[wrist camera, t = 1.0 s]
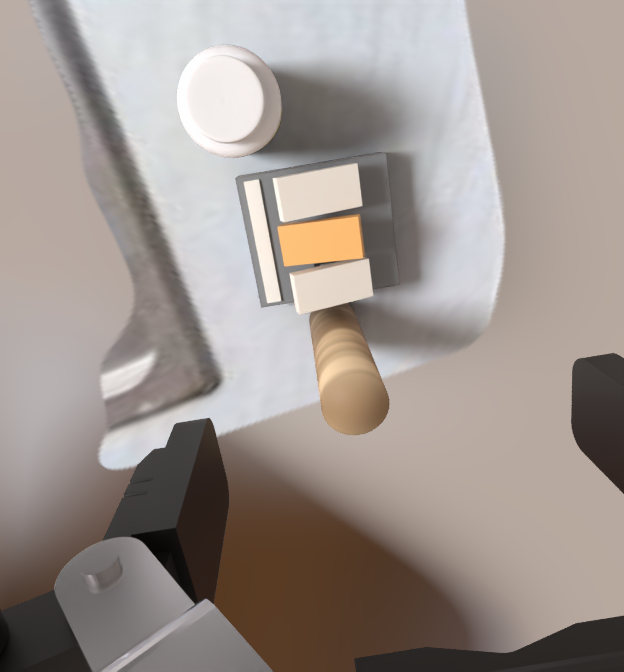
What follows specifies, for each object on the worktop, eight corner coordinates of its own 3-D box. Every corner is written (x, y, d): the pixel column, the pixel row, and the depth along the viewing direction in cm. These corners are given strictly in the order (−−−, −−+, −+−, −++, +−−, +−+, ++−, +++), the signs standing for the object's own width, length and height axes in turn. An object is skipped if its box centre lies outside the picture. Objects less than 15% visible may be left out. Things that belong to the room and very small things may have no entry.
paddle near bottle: (270, 177, 32) (276, 178, 31) (348, 163, 33) (357, 163, 32) (278, 220, 33) (284, 222, 32) (353, 204, 34) (362, 205, 33)
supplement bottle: (195, 63, 34) (161, 33, 24) (280, 64, 34) (280, 34, 25) (201, 154, 36) (172, 159, 26) (282, 154, 36) (282, 159, 27)
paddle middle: (283, 222, 34) (277, 226, 33) (360, 212, 33) (357, 216, 32) (289, 260, 35) (284, 266, 34) (365, 252, 34) (363, 258, 33)
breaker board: (238, 175, 36) (233, 179, 33) (379, 152, 36) (390, 153, 33) (262, 297, 40) (260, 313, 36) (392, 276, 40) (403, 289, 36)
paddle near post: (287, 271, 34) (293, 276, 33) (360, 255, 35) (368, 258, 34) (294, 308, 35) (300, 314, 34) (364, 291, 36) (373, 296, 35)
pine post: (306, 301, 40) (316, 380, 27) (352, 294, 40) (385, 369, 27) (313, 344, 41) (326, 440, 28) (357, 337, 41) (392, 429, 28)
